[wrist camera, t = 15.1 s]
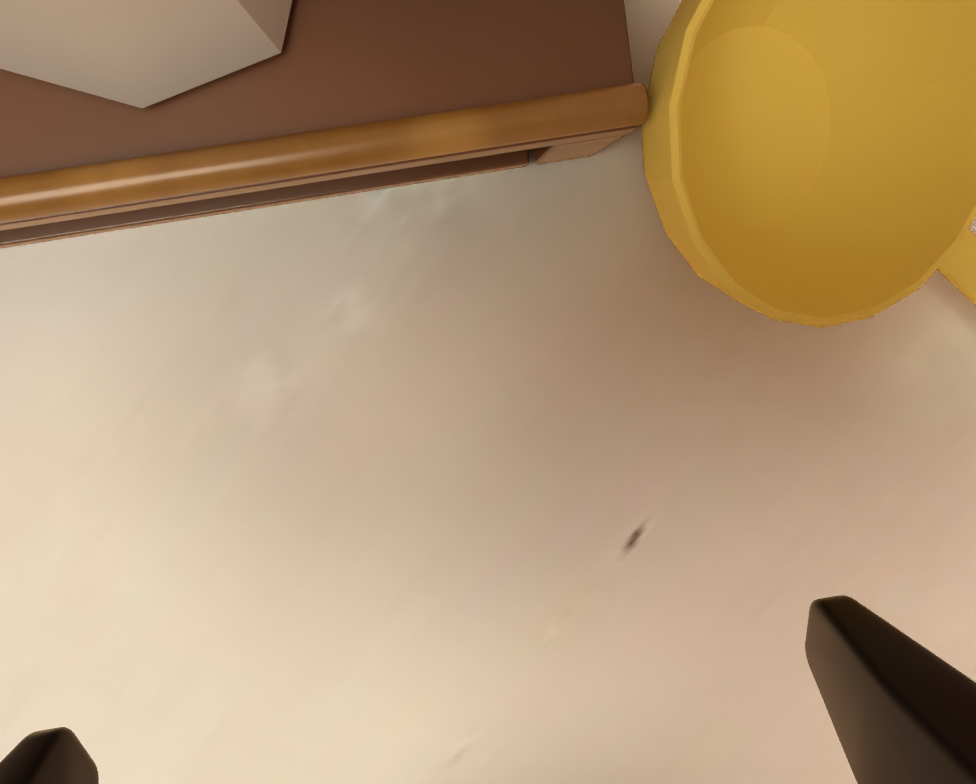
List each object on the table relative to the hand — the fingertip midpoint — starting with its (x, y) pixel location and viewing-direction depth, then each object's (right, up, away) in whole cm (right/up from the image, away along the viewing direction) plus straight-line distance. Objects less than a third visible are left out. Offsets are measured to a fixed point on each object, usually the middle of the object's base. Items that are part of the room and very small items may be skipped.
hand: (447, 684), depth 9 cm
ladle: (+15, +5, +13) cm, 20 cm away
